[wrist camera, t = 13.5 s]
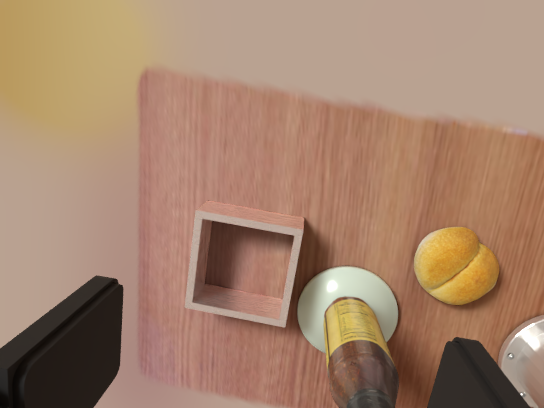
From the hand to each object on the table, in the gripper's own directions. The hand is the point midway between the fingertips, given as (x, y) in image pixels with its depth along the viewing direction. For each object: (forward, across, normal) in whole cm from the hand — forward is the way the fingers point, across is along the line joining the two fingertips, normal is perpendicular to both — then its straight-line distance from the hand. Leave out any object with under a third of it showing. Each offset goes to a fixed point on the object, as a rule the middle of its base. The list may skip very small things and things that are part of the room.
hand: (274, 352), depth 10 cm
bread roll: (+33, -19, +8) cm, 39 cm away
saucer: (+32, -9, +16) cm, 37 cm away
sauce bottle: (+32, -9, +16) cm, 37 cm away
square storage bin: (+33, +4, +11) cm, 35 cm away
